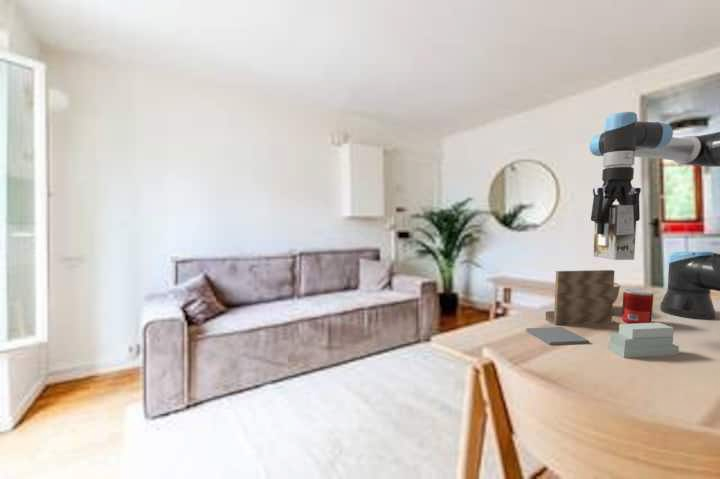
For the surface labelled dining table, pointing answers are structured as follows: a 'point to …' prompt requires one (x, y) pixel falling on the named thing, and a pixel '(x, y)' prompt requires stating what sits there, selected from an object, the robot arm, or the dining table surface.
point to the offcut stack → (643, 340)
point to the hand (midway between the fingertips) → (613, 244)
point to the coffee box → (618, 234)
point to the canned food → (637, 306)
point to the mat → (557, 335)
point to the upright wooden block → (582, 297)
